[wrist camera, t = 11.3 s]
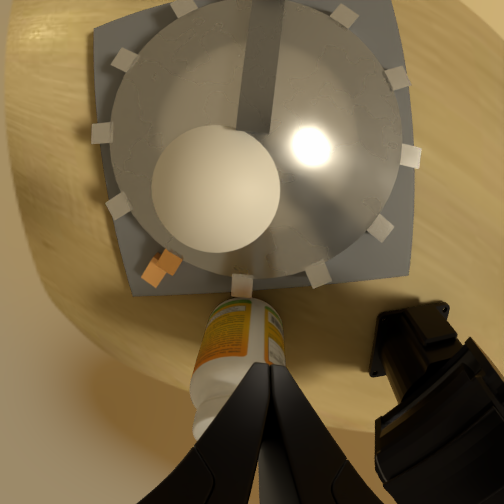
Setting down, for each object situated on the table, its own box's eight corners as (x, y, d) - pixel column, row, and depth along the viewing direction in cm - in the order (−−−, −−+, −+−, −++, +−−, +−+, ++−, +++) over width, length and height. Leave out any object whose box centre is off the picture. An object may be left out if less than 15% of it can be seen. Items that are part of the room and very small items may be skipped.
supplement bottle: (200, 340, 22) (169, 445, 13) (222, 283, 20) (191, 391, 11) (265, 362, 22) (263, 469, 13) (295, 309, 20) (310, 422, 11)
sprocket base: (402, 269, 19) (413, 280, 17) (138, 289, 20) (128, 302, 19) (384, 0, 12) (393, -10, 10) (100, 32, 14) (87, 25, 12)
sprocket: (451, 49, 12) (514, 29, 6) (331, 322, 19) (351, 393, 13) (184, -52, 10) (155, -107, 4) (78, 226, 17) (15, 264, 11)
